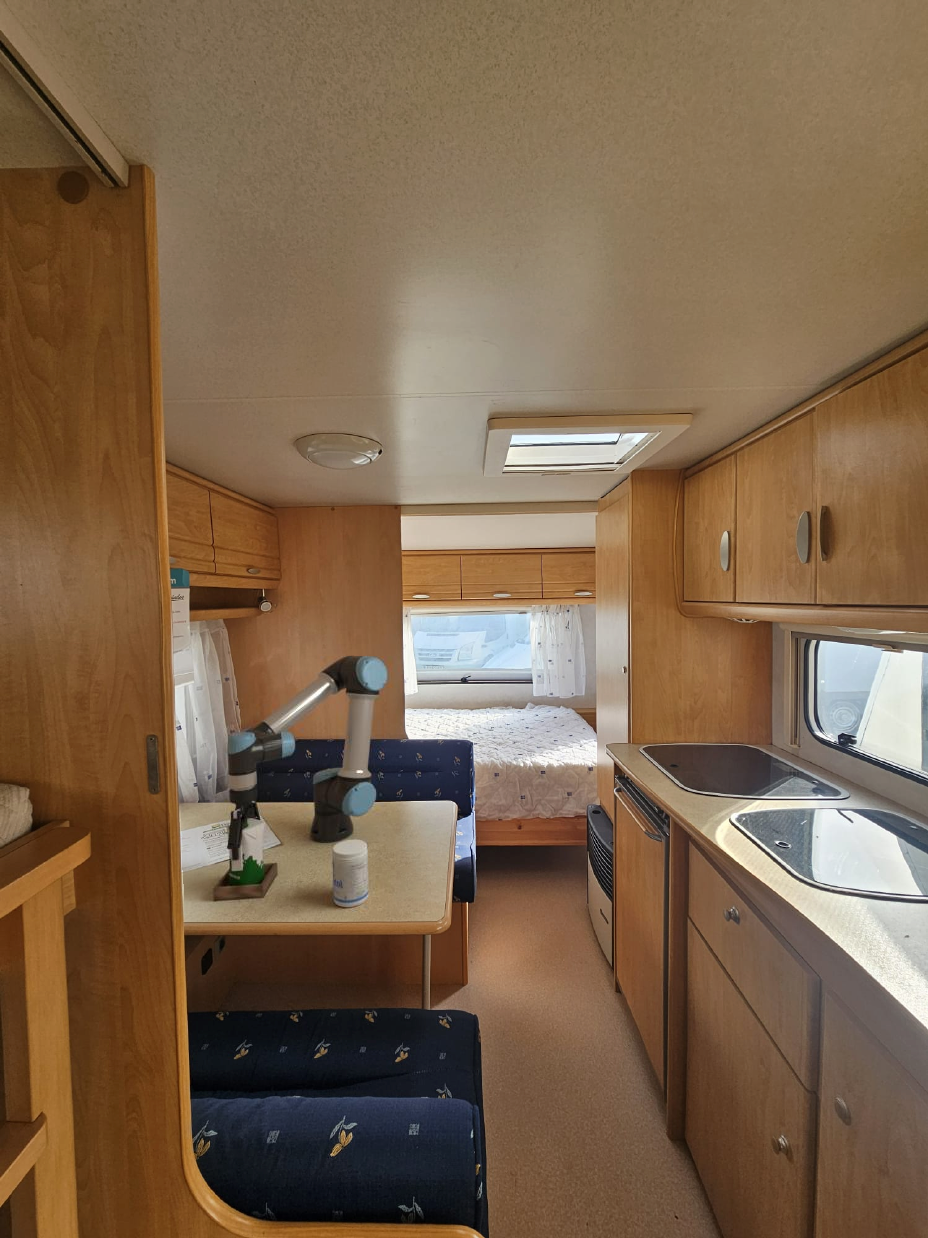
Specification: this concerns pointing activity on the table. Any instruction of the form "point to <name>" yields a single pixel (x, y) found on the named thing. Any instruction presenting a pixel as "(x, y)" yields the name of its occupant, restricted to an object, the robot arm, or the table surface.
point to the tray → (245, 886)
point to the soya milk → (249, 855)
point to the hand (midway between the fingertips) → (246, 859)
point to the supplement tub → (350, 873)
